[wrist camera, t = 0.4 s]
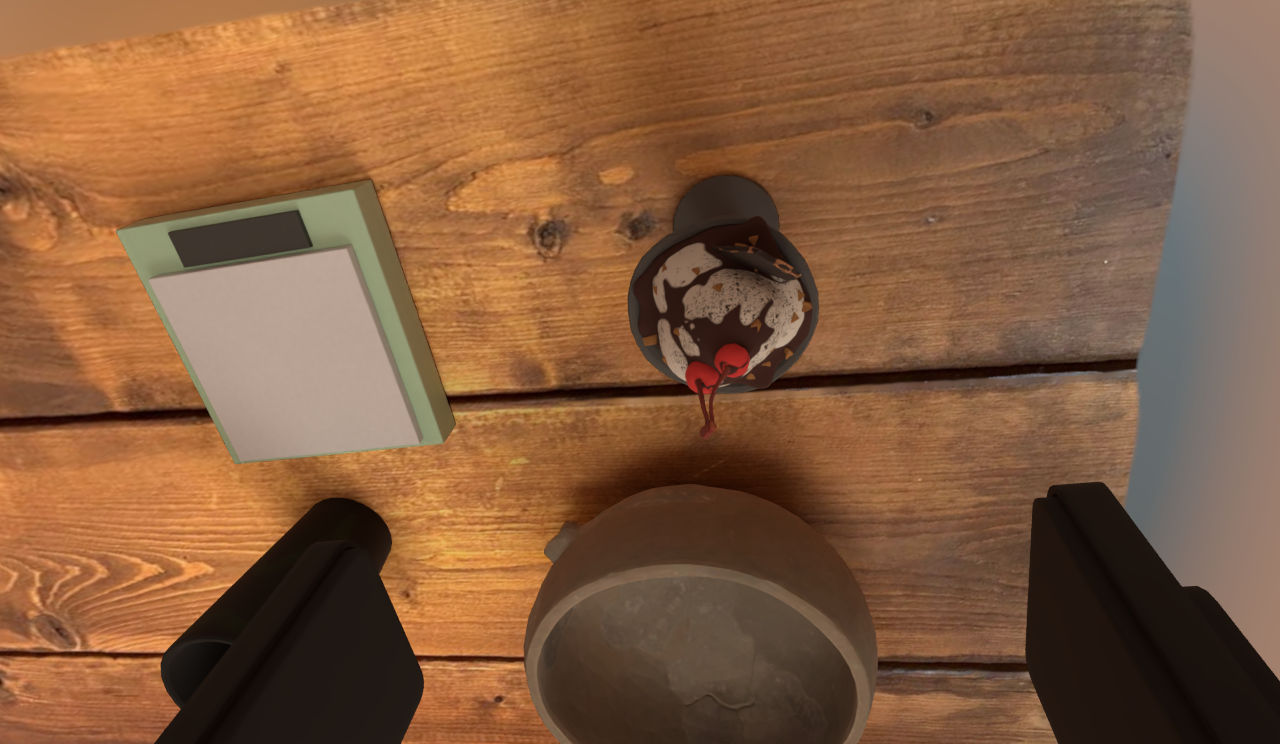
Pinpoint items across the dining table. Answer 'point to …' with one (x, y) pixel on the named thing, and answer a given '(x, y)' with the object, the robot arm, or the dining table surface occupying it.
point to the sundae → (723, 294)
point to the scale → (294, 323)
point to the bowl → (699, 627)
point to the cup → (265, 589)
